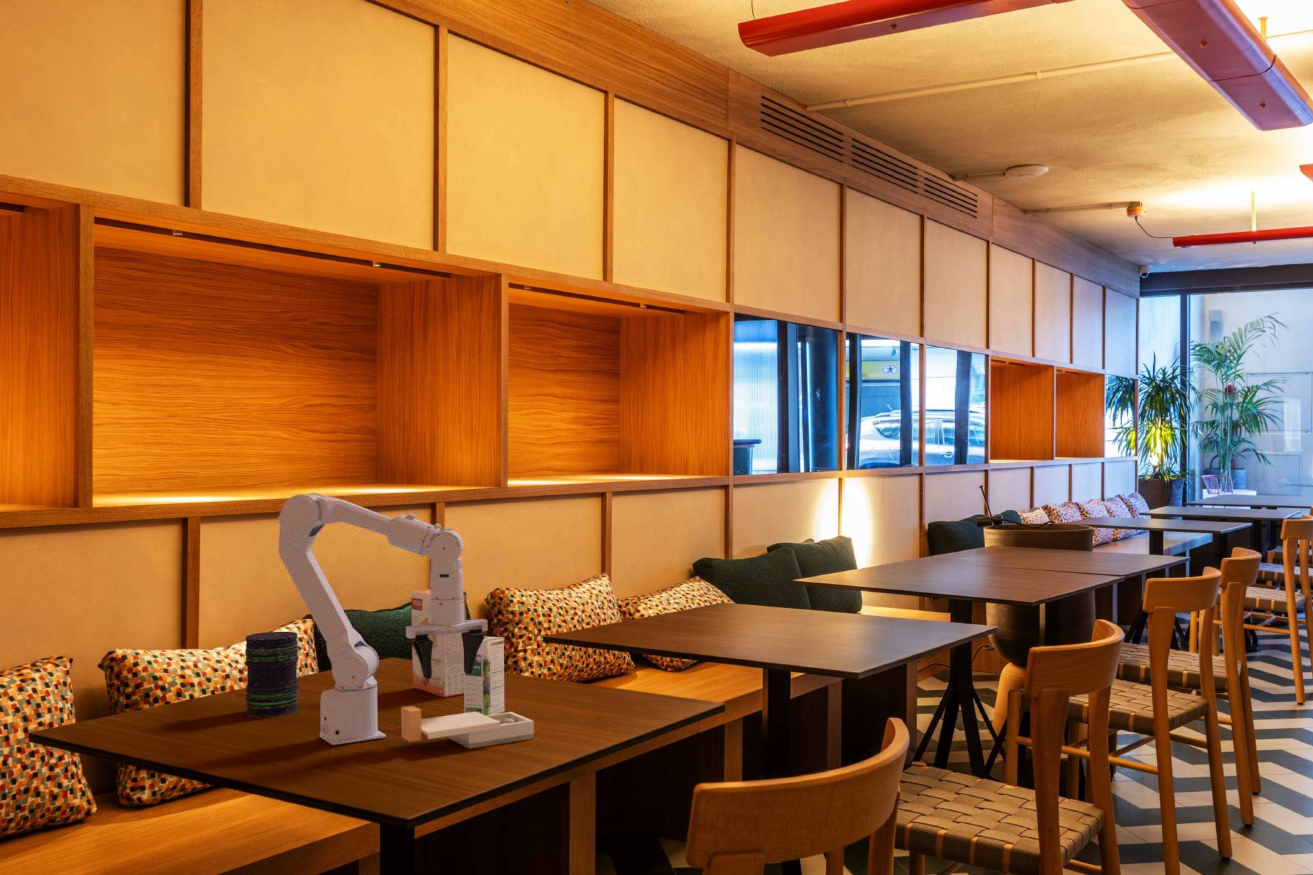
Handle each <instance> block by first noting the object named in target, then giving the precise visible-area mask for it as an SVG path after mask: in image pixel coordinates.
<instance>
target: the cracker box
mask: <svg viewBox="0 0 1313 875" xmlns="http://www.w3.org/2000/svg"><path fill="white" fill-rule="evenodd" d="M410 595H411V596H410V599H411V600H410V603H411V604H410V605H411V606H410V607H411V626H414V625H421V624H427V623H431V593H430V589H418V590H413V591H411V593H410ZM466 607H467V606H466V594H463V615H464V620H467V617H466V616H467V614H466V613H467V611H466V609H467V608H466ZM456 630H459V629H456ZM460 630H462V629H460ZM442 631H452V630H440V631H439V632H442ZM461 634H462V633H455V634H445V635H435V636H428V638H430V640H432V641H433V646H432V655H431V667H432V676H431V679H426V678H424V677H423V671H422V667H421V664H420V661H419V658H418V655H417V653H416V651H415V649H414V647H413V645H412V644H411V645H412V646H411V651H412V653H411V655H412V656H411V657H412V687H413V689H417V690H420V691H423V692H426V693H429V694H432V695H436V696H438V697H441V698H451V697H453V696H454V697H455V696H460V695H464V650H463V642H462V636H461Z"/></svg>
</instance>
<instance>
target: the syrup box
mask: <svg viewBox="0 0 1313 875" xmlns="http://www.w3.org/2000/svg"><path fill="white" fill-rule="evenodd" d="M504 641H505V640H504V637H503V636H502V637H496V636H484V640H483V641H482V643H481V645H480V647H479V650H478V652H477V655H476V658H475V662H474V666H473V671H472V674H468V673H465V672H464V694H463V695H464V696H463V697H464V698H463V702H464V704H463V713H469V712H478V713H480V714H483V715H485V716H486V715H493V714H500V713H505V654H504V653H505V648H504V646H505V645H504V644H505V642H504Z"/></svg>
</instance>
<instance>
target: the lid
mask: <svg viewBox="0 0 1313 875" xmlns="http://www.w3.org/2000/svg"><path fill="white" fill-rule="evenodd" d="M400 709H401V710H400V711H401V712H400V713H401V714H400V715H401V724H400V725H401V738H402V739H404V740H405V741H407V742H409V743H411V742H418V741H422V733H423V734H424V735H426V736H427V739H428V740H430V739H437V738H444V737H449V736H451V735H458V734H464V733H471V732H478V731H484V730H491V729H497V728H500V722H499V721H496V720H494V719H492V718H490V717H487V716H485V715H483V714H480V713H478V712H469V713H464V712H463V713H458V714H457V713H455V714H449V715H443V716H435V717H429V718H422V709H421V708H418V707H416V706H414V705H409V706H401V708H400Z"/></svg>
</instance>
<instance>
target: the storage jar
mask: <svg viewBox="0 0 1313 875" xmlns="http://www.w3.org/2000/svg"><path fill="white" fill-rule="evenodd" d="M297 639H298V632H293V631H269V632H266V631H265V632H258V633H252V634H248V635H246V636H245V642H246V644H245V650H244V651H245V653H244V654H245V666H246V669H247V670H246V671H247V674H246V675H247V681H246V682H247V684H246V686H245V693H246V694H245V702H246V704H245V705H246V707H247V708H246V715H247V716H248V717H250V718H275V717H283V716H282V715H284V716H288V715H291V714H292V715H293V714H295V713H297V712H298V711H299V705H298V703H299V699H298V698H299V697H300V695H299V694H300V693H299V692H300V691H299V681H298V680H297V678H298V677H297V676H298V675H297V673H298V672H297V669H298V668H297V666H298V665H297V664H298V662H299V646H298V645H299V644H298V640H297Z"/></svg>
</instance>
